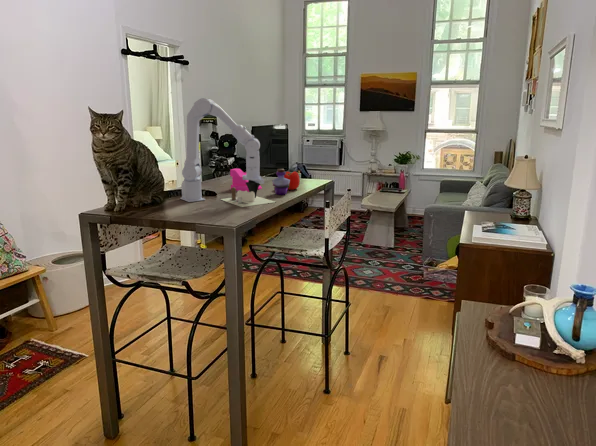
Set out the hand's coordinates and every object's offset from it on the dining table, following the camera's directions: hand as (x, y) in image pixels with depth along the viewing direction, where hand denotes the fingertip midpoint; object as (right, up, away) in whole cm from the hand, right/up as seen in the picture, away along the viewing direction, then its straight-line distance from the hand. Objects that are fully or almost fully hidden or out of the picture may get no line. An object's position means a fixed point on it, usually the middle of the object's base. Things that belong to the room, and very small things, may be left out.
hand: (253, 198), depth 197 cm
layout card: (-2, -1, 0) cm, 3 cm away
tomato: (+15, +6, +31) cm, 34 cm away
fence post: (-9, -1, +1) cm, 9 cm away
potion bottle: (+11, +3, +17) cm, 21 cm away
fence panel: (-3, -1, -1) cm, 3 cm away
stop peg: (-5, -3, -6) cm, 9 cm away
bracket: (-6, +6, +29) cm, 30 cm away
